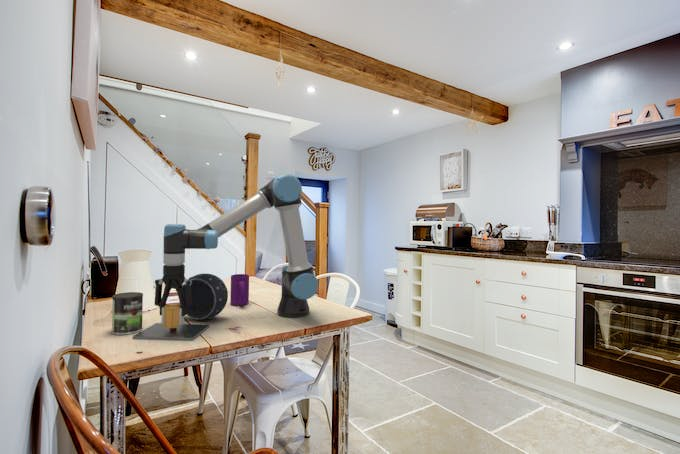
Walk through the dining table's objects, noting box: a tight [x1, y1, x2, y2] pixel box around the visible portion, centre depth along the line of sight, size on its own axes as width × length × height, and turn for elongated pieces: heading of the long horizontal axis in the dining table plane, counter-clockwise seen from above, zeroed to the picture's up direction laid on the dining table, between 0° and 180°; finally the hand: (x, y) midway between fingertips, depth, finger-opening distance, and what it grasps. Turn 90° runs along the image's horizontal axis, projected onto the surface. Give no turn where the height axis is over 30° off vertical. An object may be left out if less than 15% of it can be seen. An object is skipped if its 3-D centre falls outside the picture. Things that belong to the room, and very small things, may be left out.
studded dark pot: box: [177, 273, 229, 322], centre depth 154 cm, size 11×20×20 cm, turn 78°
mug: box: [230, 273, 250, 307], centre depth 179 cm, size 9×16×15 cm, turn 24°
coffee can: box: [111, 291, 144, 336], centre depth 137 cm, size 10×10×14 cm
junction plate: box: [132, 322, 210, 342], centre depth 136 cm, size 22×16×7 cm
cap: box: [164, 302, 181, 328], centre depth 135 cm, size 6×6×8 cm
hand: (172, 323), depth 136 cm, fingers closed on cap, 6 cm apart
